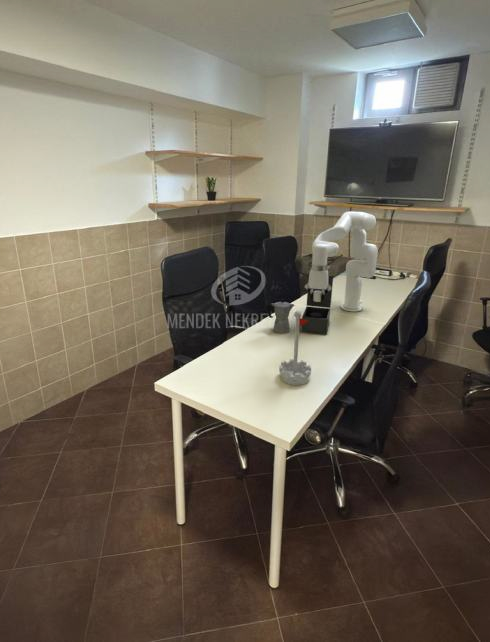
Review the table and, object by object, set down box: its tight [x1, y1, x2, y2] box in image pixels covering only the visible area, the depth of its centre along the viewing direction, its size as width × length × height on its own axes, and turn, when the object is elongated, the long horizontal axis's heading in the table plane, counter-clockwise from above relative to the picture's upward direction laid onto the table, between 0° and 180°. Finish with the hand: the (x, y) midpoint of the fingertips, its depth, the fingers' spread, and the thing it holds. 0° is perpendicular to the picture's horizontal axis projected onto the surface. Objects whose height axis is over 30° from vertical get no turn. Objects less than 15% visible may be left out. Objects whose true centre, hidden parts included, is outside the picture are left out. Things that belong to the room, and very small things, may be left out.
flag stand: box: [278, 310, 312, 386], centre depth 145 cm, size 13×13×30 cm
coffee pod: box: [313, 291, 322, 302], centre depth 192 cm, size 4×4×5 cm
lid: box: [306, 274, 334, 309], centre depth 206 cm, size 18×14×5 cm
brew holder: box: [310, 312, 322, 318], centre depth 196 cm, size 6×6×9 cm
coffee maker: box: [300, 305, 331, 336], centre depth 199 cm, size 18×14×9 cm
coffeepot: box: [265, 298, 296, 334], centre depth 195 cm, size 15×9×18 cm, turn 92°
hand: (317, 300), depth 193 cm, fingers closed on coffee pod, 4 cm apart
